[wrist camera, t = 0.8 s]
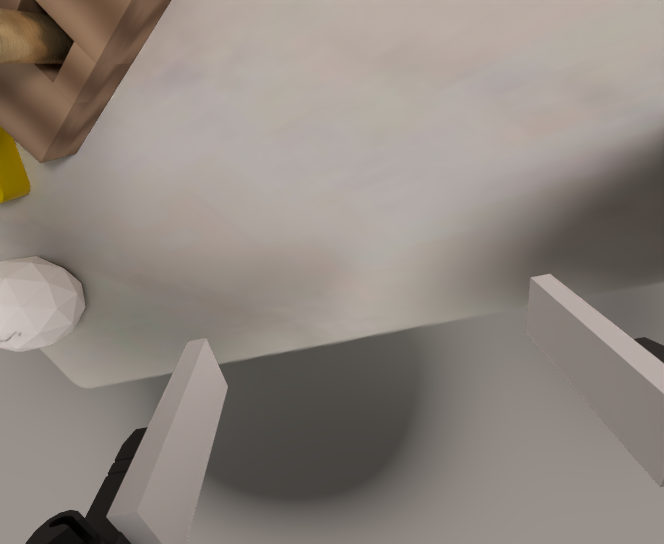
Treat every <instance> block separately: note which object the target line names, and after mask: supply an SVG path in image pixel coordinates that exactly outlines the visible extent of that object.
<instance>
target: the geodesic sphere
mask: <svg viewBox="0 0 664 544" xmlns="http://www.w3.org/2000/svg"><path fill="white" fill-rule="evenodd" d="M84 309H85V301H84V295H83V290H82V284H81V282H79V281H78V280H77V279H76V278H75V277H74V276H72V275H71V274H70V273H69V272H68V271H67V270H66V269H64V268H62V267H60V266H57V265H55V264H53V263H50V262H48V261H46V260H44V259H41V258H39V257H37V256H34V257H26V258H19V259H12V260H5V261H0V348H2V349H7V350H12V351H17V352H22V351H27V350H32V349H36V348H41V347H46V346H51V345H52V344H54V343H55V342H57V341H58V340H60V339H61V338H63V337H64V336H66V335H68V334H69V333H71V332H72V331H74V329H75V327H76V325H77V323H78V321H79V319H80V317H81V315H82V313H83V311H84Z"/></svg>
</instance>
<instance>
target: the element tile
mask: <svg viewBox="0 0 664 544" xmlns="http://www.w3.org/2000/svg"><path fill="white" fill-rule="evenodd" d="M29 192H30V183H29V180H28V177H27V174H26V172H25V169H24V166H23V163H22V161H21V158H20V155H19V152H18V150H17V147H16V144H15V141H14V139H13V137H12V136H11V135H9V134H8V133H7V132H6V131H5V130H4V129H3V128H2V127H1V126H0V204H1V203H4V202H7V201H10V200H13V199H16V198H19V197H22V196H24V195H27V194H28V193H29Z"/></svg>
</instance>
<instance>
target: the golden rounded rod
mask: <svg viewBox="0 0 664 544" xmlns="http://www.w3.org/2000/svg"><path fill="white" fill-rule="evenodd" d="M73 43H74V40H73V39H72V38H71V37H70V36H69V35H68V34H67V33H66V32H65V31H64V30H63V29H62V28H61V27H60V26H59V25H58V24H57V23H56V21H55V20H54V19H53V18H52V17H51V16H50V15H46V14H38V13H31V12H23V11H16V10H8V9H1V8H0V64H63V63H64V61H65V59H66V57H67V55H68V53H69V51H70V49H71V47H72V45H73Z"/></svg>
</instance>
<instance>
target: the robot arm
mask: <svg viewBox="0 0 664 544" xmlns="http://www.w3.org/2000/svg"><path fill="white" fill-rule="evenodd" d="M525 332H526V334H527V335H528V336H529V337H530V338H531V340H532V341H533V342H534V343H535V344H536V345H537V347H539V349H540V350H541V351H542V352H543V353H544V355H545V356H546V357H547V358H548V359H549V360H550V361H551V363H552V364H553V365H554V366H555V367H556V368H557V369H558V371H559V372H560V373H561V374H562V375H563V376H564V378H565V379H566V380H567V381H568V382H569V383H570V384H571V386H572V387H573V388H574V389H575V390H576V391H577V392H578V394H579V395H580V396H581V397H582V398H583V399H584V400H585V402H586V403H587V404H588V405H589V406H590V407H591V409H592V410H593V411H594V412H595V413H596V414H597V415H598V417H599V418H600V419H601V420H602V421H603V422H604V423H605V425H606V426H607V427H608V428H609V429H610V430H611V431H612V433H613V434H614V435H615V436H616V437H617V438H618V439H619V441H620V442H621V443H622V444H623V445H624V446H625V448H626V449H627V450H628V451H629V452H630V453H631V454H632V455H633V457H634V458H635V459H636V460H637V461H638V462H639V463H640V465H641V466H642V467H643V468H644V469H645V471H646V472H647V473H648V474H649V475H650V476H651V477H652V478H653V480H654V481H655V482H656V483H657V484H658V485H659V487H663V486H664V346H663V345H661V344H659V343H656V342H654V341H652V340H649V339H647V338H645V337H644V338H638V339H632V338H631V337H630V336H628V335H627V334H626V333H625V332H623V331H622V330H621V329H619V328H618V327H617V326H616V325H614V324H613V323H612V322H611V321H609V320H608V319H607V318H606V317H604V316H603V315H602V314H600V313H599V312H598V311H597V310H595V309H594V308H593V307H592V306H590V305H589V304H588V303H586V302H585V301H584V300H583V299H581V298H580V297H579V296H578V295H576V294H575V293H574V292H573V291H571V290H570V289H569V288H567V287H566V286H565V285H564V284H562V283H561V282H560V281H559V280H557V279H556V278H555V277H553V276H552V275H551V274H546V275H541V276H535V277H530V287H529V298H528V309H527V320H526V331H525ZM227 388H228V386H227V384H226V382H225V379H224V377H223V375H222V373H221V370H220V368H219V366H218V364H217V361H216V359H215V357H214V355H213V352H212V350H211V348H210V346H209V343H208V341H207V339H206V338H204V339H198V340H193V341H188V342H187V344H186V346H185V349H184V351H183V353H182V355H181V357H180V359H179V361H178V364H177V366H176V368H175V370H174V372H173V374H172V376H171V379H170V381H169V383H168V385H167V387H166V389H165V391H164V394H163V396H162V398H161V400H160V402H159V404H158V407H157V409H156V411H155V413H154V415H153V417H152V419H151V422H150V424H149V426H148V427H146V428H141V429H136V430H135V431H134V432H133V433H132V434H131V435H130V437H129V438H128V439H127V440H126V441H125V442H124V444H123V445H122V447H121V449H120V451H119V453H118V455H117V456H116V458H115V463H113V465H112V466H111V468H110V470H109V472H108V476H107V477H106V478H105V480H104V482H103V484H102V486H101V488H100V490H99V492H98V493H97V495H96V497H95V499H94V501H93V503H92V505H91V507H90V509H89V511H88V513H87V515H86V517H85V518H84V517H83V516H82V515H81V514H80V513H79V512H78V511H74V510H69V511H65V512H61V513H59V514H57V515H55V516H54V517H52V518H50V519H49V520H47V521H46V522H45V523H44V524H43V525H42V526H40V527H39V528H38V529H37V530H36V531H35V532H34V533H33V535H32V536H31V537H30V538H29V540H28V541H27V542H26V544H186V542H187V539H188V535H189V531H190V527H191V523H192V520H193V516H194V512H195V508H196V505H197V501H198V497H199V493H200V490H201V485H202V482H203V478H204V475H205V471H206V467H207V463H208V459H209V456H210V451H211V448H212V444H213V441H214V437H215V433H216V429H217V425H218V421H219V418H220V414H221V410H222V407H223V403H224V399H225V395H226V391H227Z"/></svg>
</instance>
